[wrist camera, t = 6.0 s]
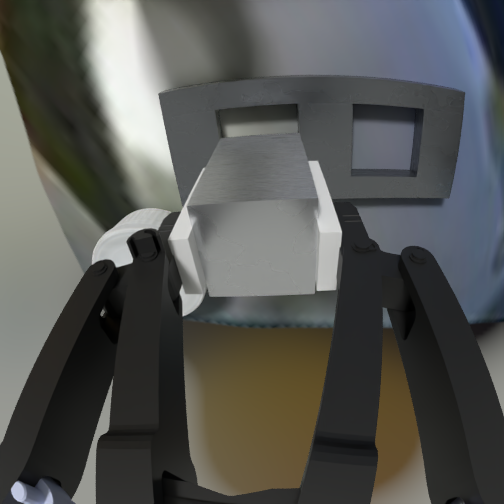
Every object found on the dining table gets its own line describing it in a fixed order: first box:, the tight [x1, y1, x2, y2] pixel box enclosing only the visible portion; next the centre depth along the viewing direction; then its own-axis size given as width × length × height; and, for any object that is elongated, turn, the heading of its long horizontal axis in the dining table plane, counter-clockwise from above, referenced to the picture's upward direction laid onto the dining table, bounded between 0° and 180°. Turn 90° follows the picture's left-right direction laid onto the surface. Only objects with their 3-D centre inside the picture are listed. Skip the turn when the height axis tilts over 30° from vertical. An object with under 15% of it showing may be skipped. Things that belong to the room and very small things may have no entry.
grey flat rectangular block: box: [159, 75, 465, 207], centre depth 22 cm, size 24×10×2 cm, turn 96°
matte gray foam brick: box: [187, 133, 318, 297], centre depth 15 cm, size 4×4×8 cm
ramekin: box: [92, 208, 207, 316], centre depth 28 cm, size 11×11×5 cm
